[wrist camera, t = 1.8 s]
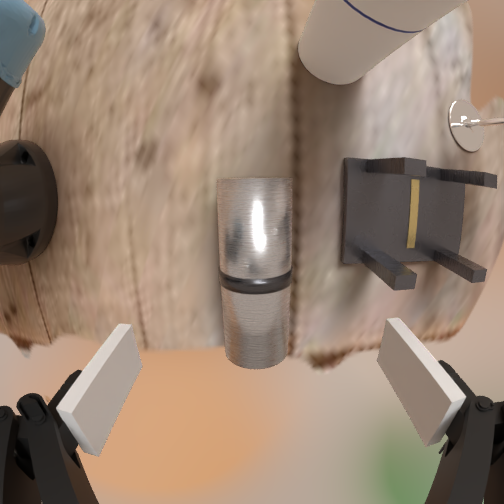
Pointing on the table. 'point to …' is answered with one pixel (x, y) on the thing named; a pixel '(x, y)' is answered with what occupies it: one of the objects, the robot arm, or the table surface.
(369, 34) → the cylindrical container
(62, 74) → the table surface
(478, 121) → the wineglass
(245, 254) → the tube
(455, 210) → the rail
